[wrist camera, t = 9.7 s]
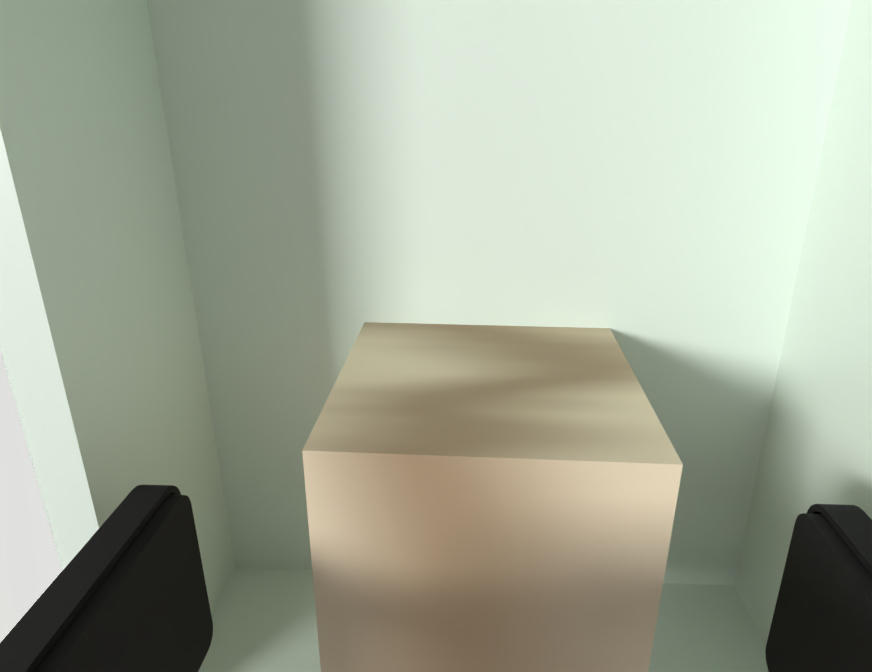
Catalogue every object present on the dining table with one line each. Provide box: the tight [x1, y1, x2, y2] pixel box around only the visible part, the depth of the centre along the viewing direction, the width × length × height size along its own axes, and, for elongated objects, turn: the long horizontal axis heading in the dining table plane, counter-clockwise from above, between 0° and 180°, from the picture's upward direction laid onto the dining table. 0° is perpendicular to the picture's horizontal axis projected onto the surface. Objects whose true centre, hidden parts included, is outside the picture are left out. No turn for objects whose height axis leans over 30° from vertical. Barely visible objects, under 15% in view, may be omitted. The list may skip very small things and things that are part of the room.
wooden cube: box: [302, 322, 683, 672], centre depth 12 cm, size 5×5×5 cm
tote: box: [0, 0, 872, 672], centre depth 11 cm, size 18×14×5 cm
